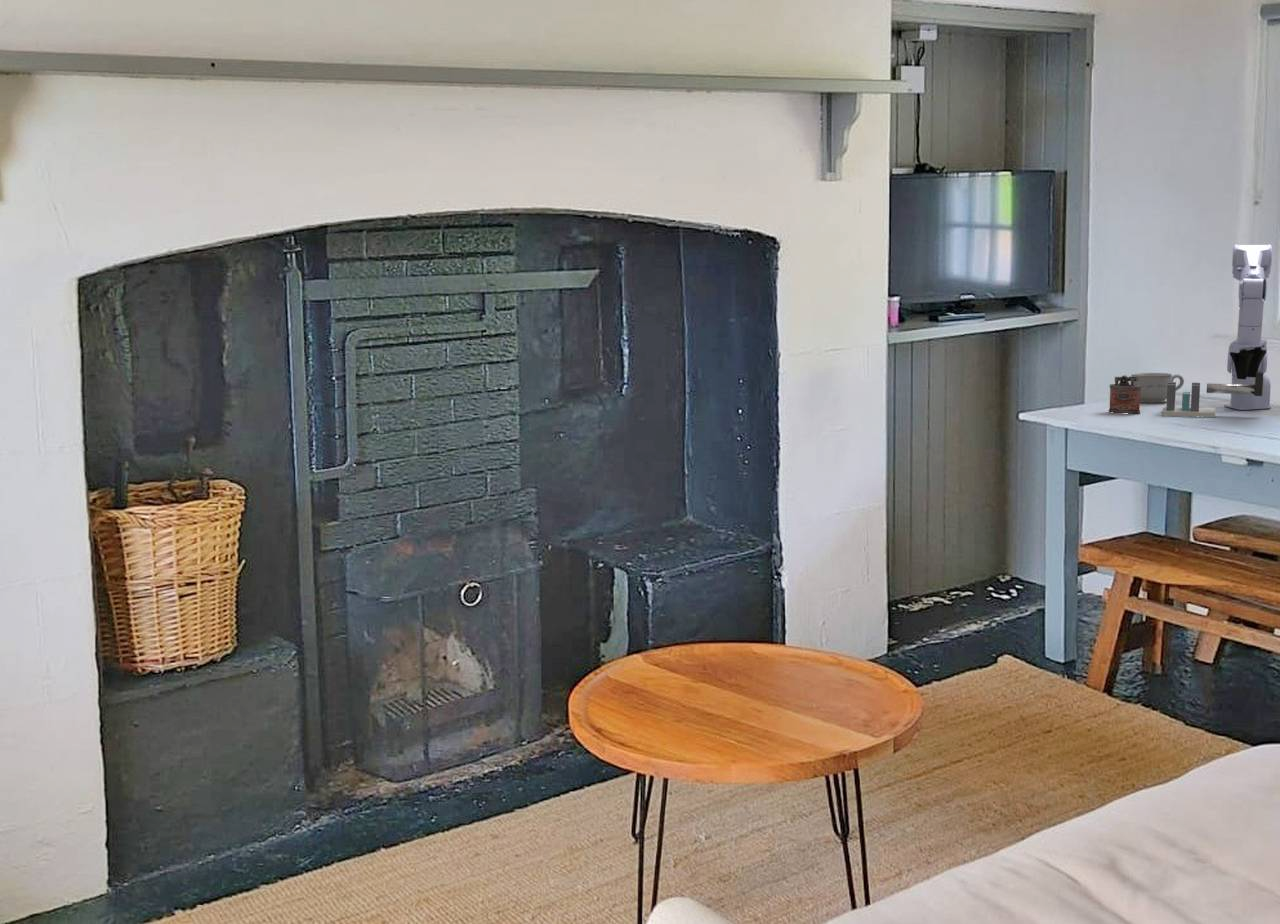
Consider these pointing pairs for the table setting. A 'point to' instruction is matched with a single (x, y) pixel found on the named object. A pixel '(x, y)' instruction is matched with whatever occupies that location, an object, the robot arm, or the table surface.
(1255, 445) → the table surface
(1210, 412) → the shaft stand
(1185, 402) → the spacer
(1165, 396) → the teacup
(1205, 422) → the table surface
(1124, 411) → the lighter
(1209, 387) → the shaft
